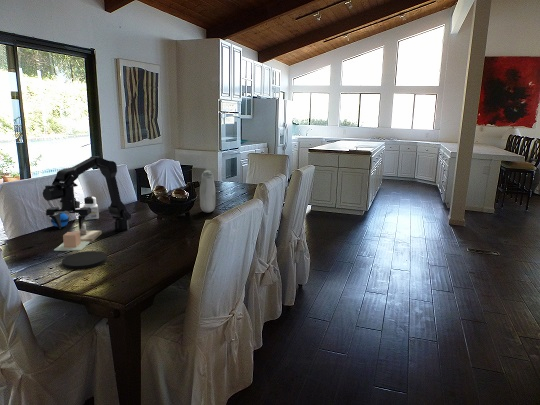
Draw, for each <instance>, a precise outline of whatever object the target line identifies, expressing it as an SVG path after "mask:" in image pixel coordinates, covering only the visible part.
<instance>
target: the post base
mask: <svg viewBox="0 0 540 405" xmlns="http://www.w3.org/2000/svg"><path fill="white" fill-rule="evenodd" d="M72 232H80V240H81V241H90V243H93V242H94V241H95V240H96V239H97V238H98V237H99V236H100V235H102V234H103V233H102V232H103V231H102V230H87V225H86V223H83V224H82V228H81V229H80V228H79V227H78V230H74V231H72Z"/></svg>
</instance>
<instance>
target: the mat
mask: <svg viewBox="0 0 540 405" xmlns="http://www.w3.org/2000/svg"><path fill="white" fill-rule="evenodd" d="M90 243H91V242H90V241H81V244H80V245H79V246H77V247H64V242H62V243H61V244H60V245H59V246H57V247H56V248H54V249H53V251H54V252H64V251H65V252H72V251H73V252H77V251H80V252H82V250H83V249H84V248H85V247H87V246H88V245H89V244H90Z"/></svg>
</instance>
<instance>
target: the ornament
mask: <svg viewBox="0 0 540 405" xmlns="http://www.w3.org/2000/svg"><path fill="white" fill-rule="evenodd" d="M50 221H51V223H52V225H53V226H54V227H57V228H59V227H58V226H57V224H56V223H55V221H54V220H53V219H52V218H51V219H50ZM60 221H61V228H63V227H65V226H67V225H68V223H69V221H70V218H69V216H68V215H67V213H61V214H60Z"/></svg>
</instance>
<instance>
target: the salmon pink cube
mask: <svg viewBox="0 0 540 405" xmlns="http://www.w3.org/2000/svg"><path fill="white" fill-rule="evenodd" d="M62 240H63V242H62V243H64V247H77V246H79V245H80V244H81V240H80V232H73V231H67V232H66V233H64V234H63V235H62Z"/></svg>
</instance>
